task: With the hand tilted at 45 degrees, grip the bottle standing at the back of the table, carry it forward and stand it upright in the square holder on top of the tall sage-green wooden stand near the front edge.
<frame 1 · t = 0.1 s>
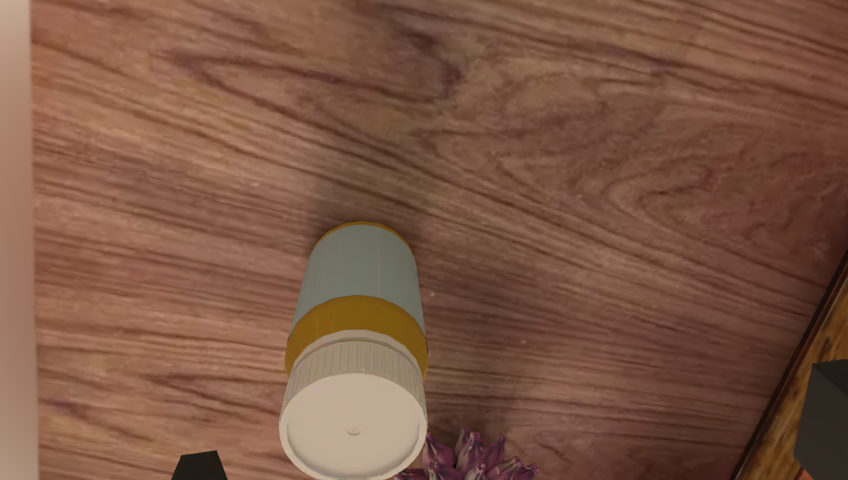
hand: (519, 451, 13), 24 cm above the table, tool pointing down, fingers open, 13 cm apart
bottle: (362, 265, 37), on the table
flower: (456, 451, 44), on the table
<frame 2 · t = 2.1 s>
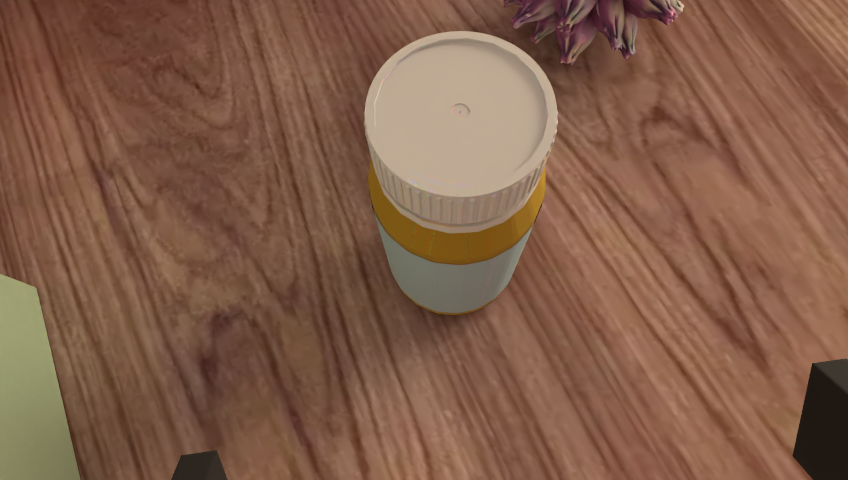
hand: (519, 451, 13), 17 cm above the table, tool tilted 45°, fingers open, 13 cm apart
bottle: (451, 258, 32), on the table
flower: (573, 26, 37), on the table
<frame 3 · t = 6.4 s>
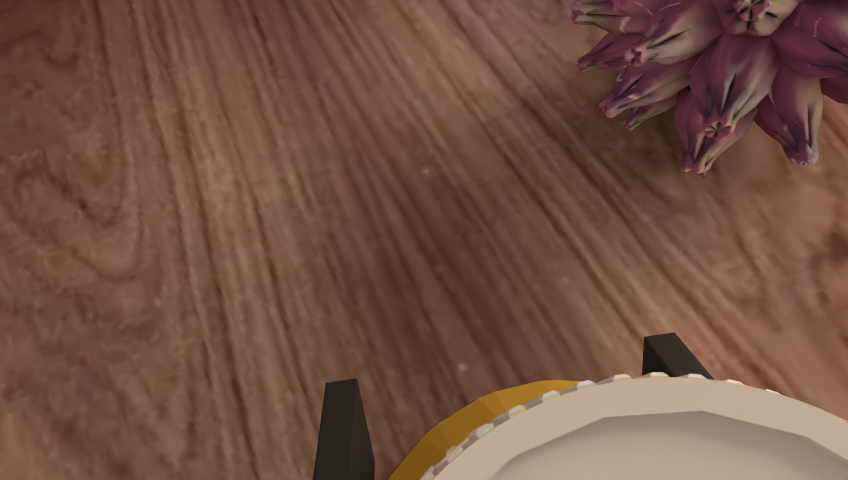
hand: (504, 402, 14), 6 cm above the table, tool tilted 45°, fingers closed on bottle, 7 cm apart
flower: (681, 95, 23), on the table
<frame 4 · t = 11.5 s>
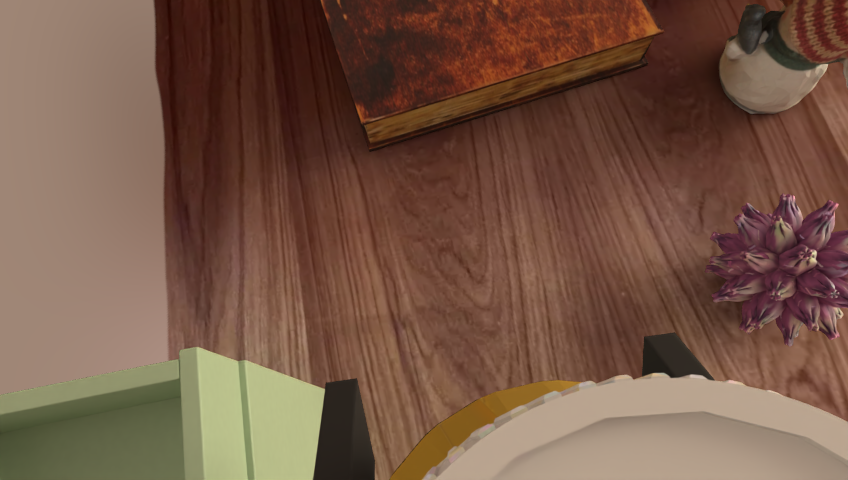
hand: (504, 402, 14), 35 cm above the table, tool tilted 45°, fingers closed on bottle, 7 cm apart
figurine: (772, 86, 56), on the table
flower: (750, 286, 50), on the table
book: (470, 17, 61), on the table
when the fingers open (31 cm above the table, at t = 16.7 s): bottle stays where it is, resting on stand.
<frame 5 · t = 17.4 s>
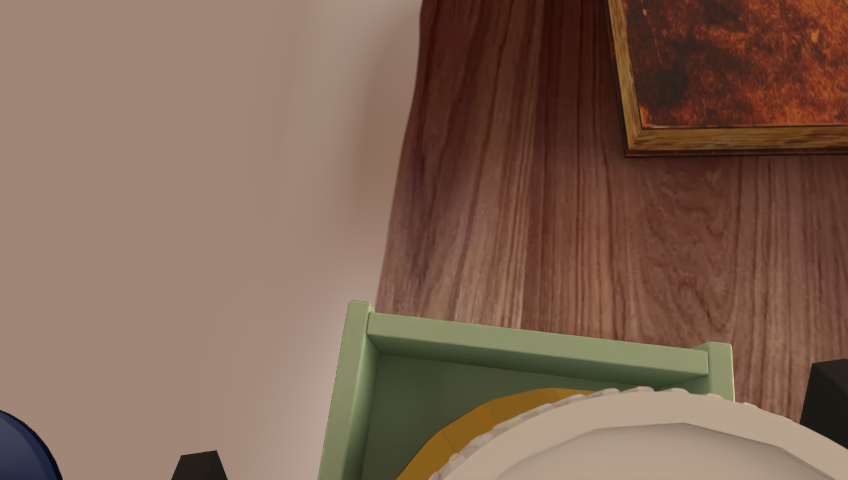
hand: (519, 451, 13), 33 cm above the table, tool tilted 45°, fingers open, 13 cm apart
book: (761, 48, 56), on the table
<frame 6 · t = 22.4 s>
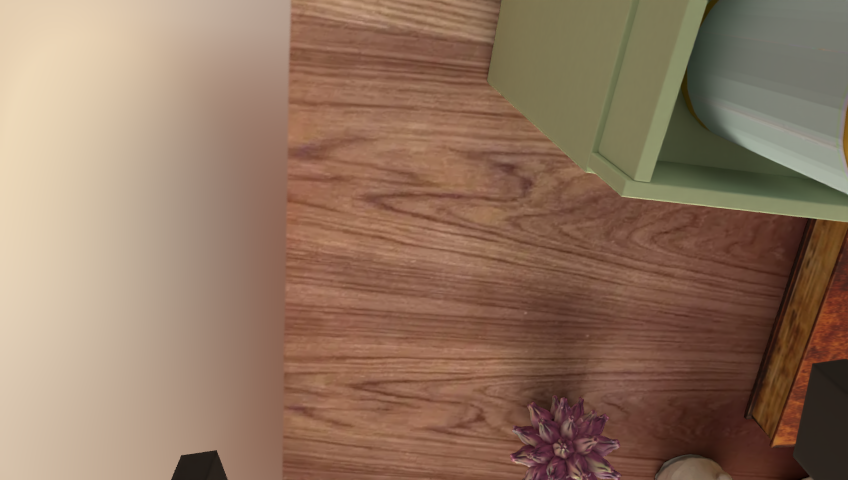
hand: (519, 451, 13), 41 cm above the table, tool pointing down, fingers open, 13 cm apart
bottle: (750, 54, 24), point 26 cm above the table, touching stand
stand: (754, 54, 24), on the table
flower: (549, 413, 66), on the table
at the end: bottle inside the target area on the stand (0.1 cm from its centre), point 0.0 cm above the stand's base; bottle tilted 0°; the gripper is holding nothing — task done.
